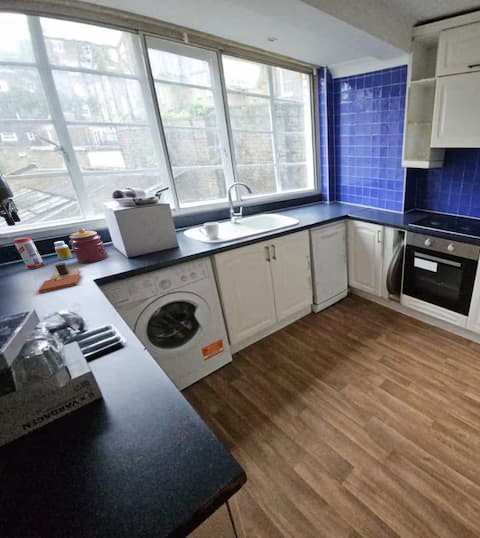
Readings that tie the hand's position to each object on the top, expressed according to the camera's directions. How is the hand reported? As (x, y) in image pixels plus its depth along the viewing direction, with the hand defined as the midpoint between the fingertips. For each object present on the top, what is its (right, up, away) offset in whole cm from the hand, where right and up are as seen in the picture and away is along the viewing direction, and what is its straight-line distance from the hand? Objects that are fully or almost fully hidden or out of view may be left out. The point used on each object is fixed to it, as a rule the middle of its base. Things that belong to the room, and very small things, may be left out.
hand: (14, 223), depth 134 cm
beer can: (-14, -20, +21) cm, 32 cm away
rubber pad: (+21, -28, 0) cm, 35 cm away
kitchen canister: (+9, -15, +30) cm, 35 cm away
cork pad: (+16, -25, +7) cm, 30 cm away
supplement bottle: (-9, -15, +32) cm, 37 cm away
